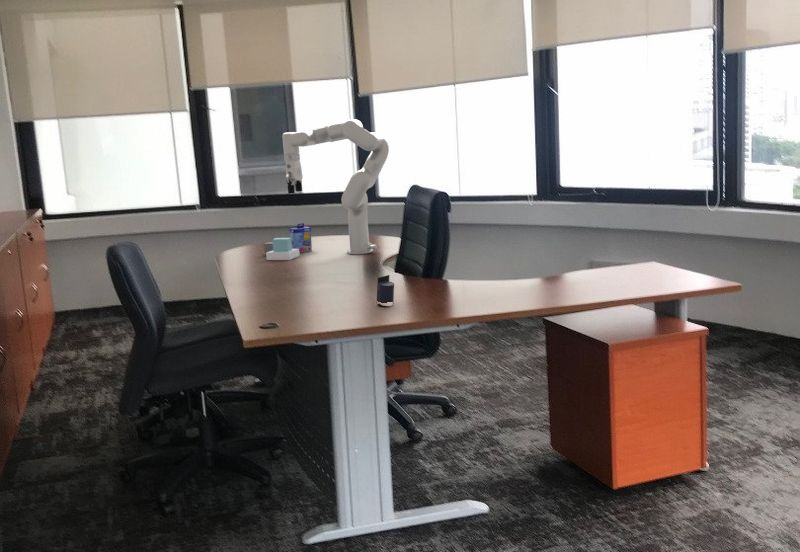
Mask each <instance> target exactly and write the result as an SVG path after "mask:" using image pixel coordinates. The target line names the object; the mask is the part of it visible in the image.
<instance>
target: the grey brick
mask: <svg viewBox="0 0 800 552" xmlns="http://www.w3.org/2000/svg"><path fill="white" fill-rule="evenodd" d="M263 246H264V247H263V248H264V256H266V253H267V252H270V251H273V241H268V242H265V243H263Z"/></svg>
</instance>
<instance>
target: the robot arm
mask: <svg viewBox="0 0 800 552" xmlns="http://www.w3.org/2000/svg"><path fill="white" fill-rule="evenodd" d="M343 140H348V141H350V142H352V143H353V144H354V145H356V146H358V147H360V149H362V150H364V151H367V152H370V153H369V155H368V156H367V158H366V160H365V163H364V164H363V166H362V168H361V169H359V170H357V171H355V172H354V173H353V174H352V176H351V178H350V180H349V181H348V182H347V185H346V187H345V189H344V191H343V193H342V195H341V204H342V206H343V207H344V208H345V209H346V210H347V222H348V223H347V224H348V237H349V239H348V240H349V249H347V250H346V253H347V254H348V255H364V254H369V253H372V252H373V250H377V249H378V245H377V244H372V242H370V238H369V237H370V235H369V220H368V219H369V218H368V205H369V204H368V203H369V202H368V199H369V198H368V194H367V191H368V190H369V189H370V188H372V187H374V185H375V183H376V182H377V181H376V180H377V179H378V177H379V175H380V174H381V171H382V168H383V167H384V165H385V163H386V161H387V159H388V157H389V151H390V147H389V142H388V140H387V139H386V137H385V136H384V135H383V133H380V132H377V131H375V132H370V131H368V130H367V129H365V128H364V126H363V123H362V122H361V121H360V120H358V119H347V120H344V121H340V122H334V123H330V124H327V125H326V126H323V127H319V128H314V129H308V130H301V131H296V132H295V131H291V132H290V131H289V132H283V133H282V146H283V156H284V157H283V159H284V162H285V179H286V184H287V185H286V186H287V193H288V194H295V193H296V192H303V184H302V182H303V181H302V179H303V170H302V165H301V159H300V157H301V155H300V147H308V146H309V147H310V146H315V145H320V144H325V143H333V142H334V143H335V142H338V141H343ZM295 191H296V192H295Z"/></svg>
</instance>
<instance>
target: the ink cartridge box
mask: <svg viewBox="0 0 800 552" xmlns="http://www.w3.org/2000/svg"><path fill="white" fill-rule="evenodd" d="M289 236H290V237H289V238H291V241H292V249H299V253H305V252H312V251H313V247H312V246H313V245H312V228H311V227H310V226H305V222H302V223H301V222H300V223H297V226H296V227H291V228H289Z"/></svg>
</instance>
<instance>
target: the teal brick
mask: <svg viewBox="0 0 800 552" xmlns="http://www.w3.org/2000/svg"><path fill="white" fill-rule="evenodd" d="M271 242H273V252H288V251H291V250H292V241H291V238H290V237H275V238H273V239H272V241H271Z"/></svg>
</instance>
